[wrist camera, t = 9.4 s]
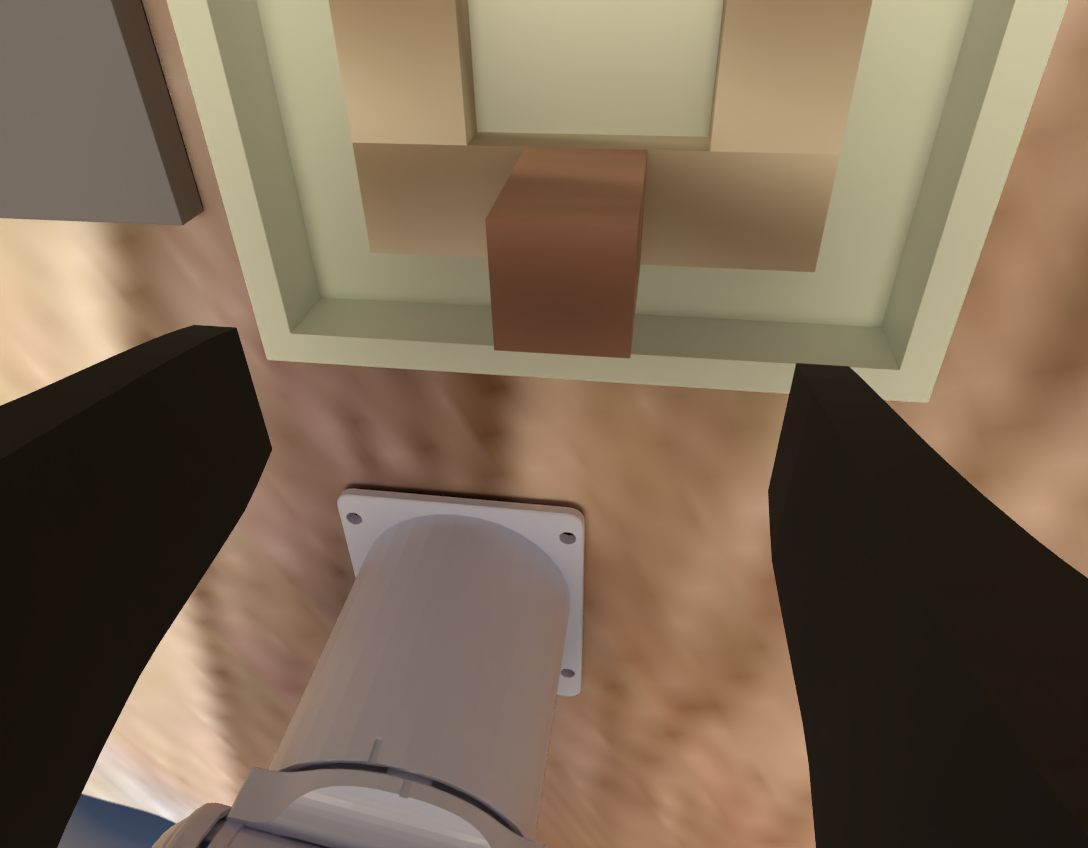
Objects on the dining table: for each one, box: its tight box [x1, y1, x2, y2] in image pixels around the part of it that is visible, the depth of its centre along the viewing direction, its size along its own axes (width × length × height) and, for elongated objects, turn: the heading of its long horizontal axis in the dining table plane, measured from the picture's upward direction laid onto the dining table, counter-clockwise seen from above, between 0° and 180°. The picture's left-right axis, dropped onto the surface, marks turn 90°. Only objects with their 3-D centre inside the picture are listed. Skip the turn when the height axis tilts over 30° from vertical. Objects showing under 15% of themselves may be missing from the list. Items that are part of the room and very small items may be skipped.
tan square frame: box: [329, 0, 872, 359], centre depth 13 cm, size 10×10×5 cm
